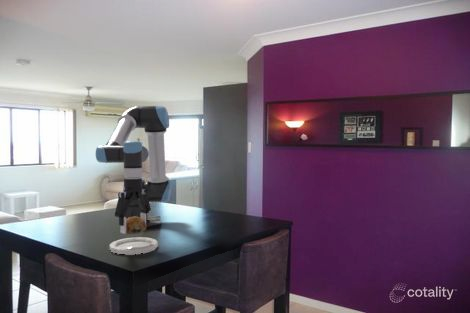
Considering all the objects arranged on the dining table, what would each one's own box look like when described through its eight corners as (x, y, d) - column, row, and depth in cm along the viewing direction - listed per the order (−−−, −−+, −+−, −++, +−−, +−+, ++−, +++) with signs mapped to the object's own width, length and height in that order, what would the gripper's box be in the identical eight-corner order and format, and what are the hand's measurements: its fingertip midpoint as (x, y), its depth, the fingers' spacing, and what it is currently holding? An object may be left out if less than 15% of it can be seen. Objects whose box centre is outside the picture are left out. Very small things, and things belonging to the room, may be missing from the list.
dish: (136, 239, 168) (136, 235, 168) (166, 246, 157) (166, 241, 157) (100, 249, 152) (100, 245, 152) (131, 257, 141) (131, 252, 141)
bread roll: (147, 237, 158) (148, 219, 161) (142, 232, 148) (144, 213, 151) (124, 237, 157) (125, 219, 160) (117, 233, 148) (120, 213, 151)
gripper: (147, 175, 165) (147, 224, 166) (104, 179, 146) (105, 234, 147) (159, 176, 161) (159, 226, 162) (116, 180, 142) (117, 237, 143)
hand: (133, 230), depth 154 cm, fingers closed on bread roll, 10 cm apart
